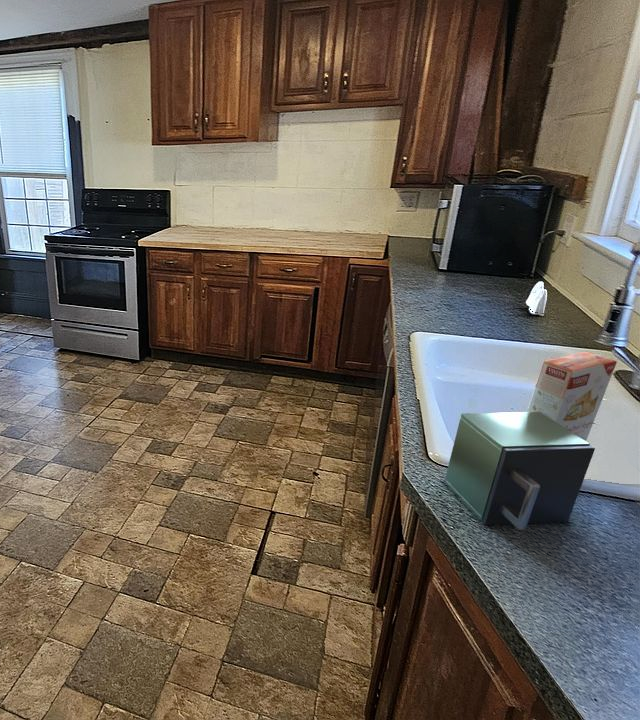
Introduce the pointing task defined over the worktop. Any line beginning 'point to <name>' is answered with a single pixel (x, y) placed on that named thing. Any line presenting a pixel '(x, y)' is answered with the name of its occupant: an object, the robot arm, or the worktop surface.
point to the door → (537, 485)
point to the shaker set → (537, 299)
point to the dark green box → (496, 450)
